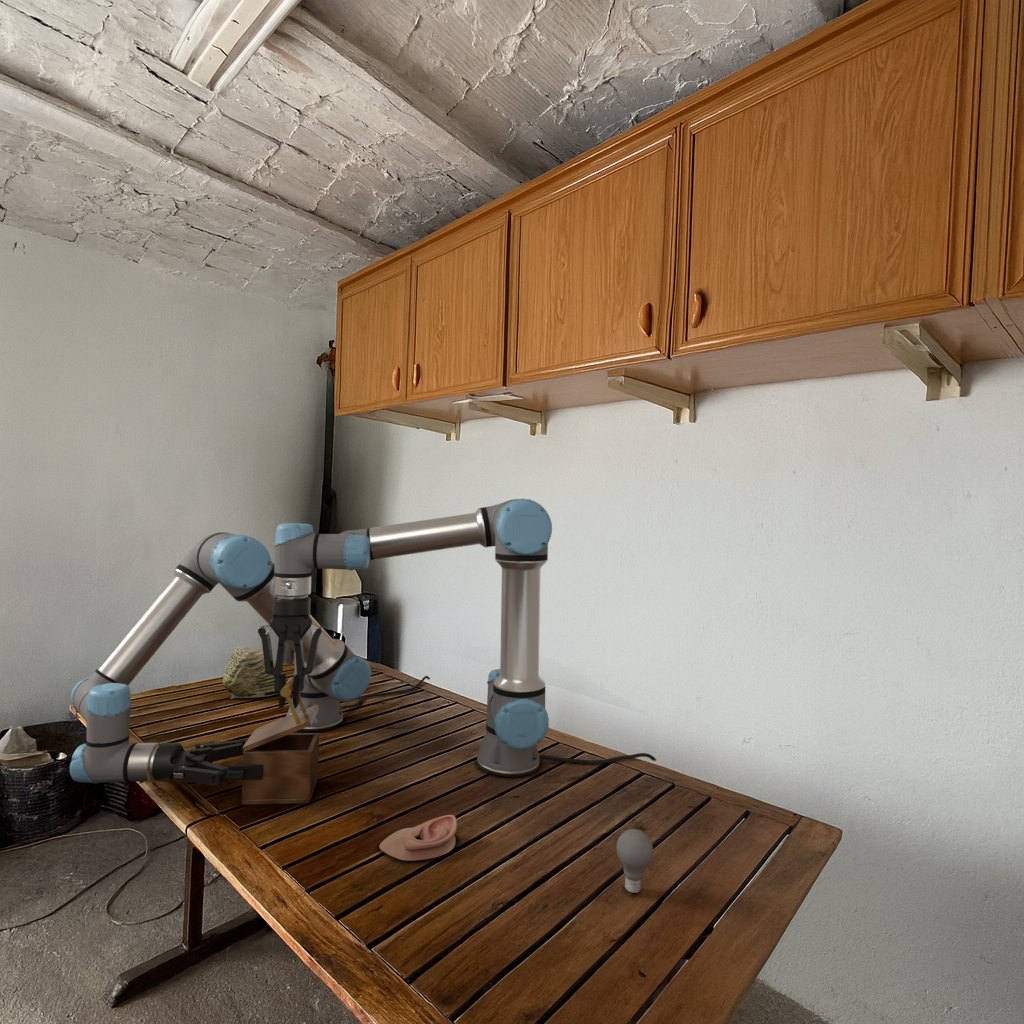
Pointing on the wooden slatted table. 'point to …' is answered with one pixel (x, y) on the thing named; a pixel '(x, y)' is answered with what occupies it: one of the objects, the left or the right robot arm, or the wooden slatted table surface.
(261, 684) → the fossil
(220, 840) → the wooden slatted table surface
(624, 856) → the light bulb
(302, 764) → the chest
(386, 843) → the anatomical model
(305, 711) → the lid
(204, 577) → the left robot arm
